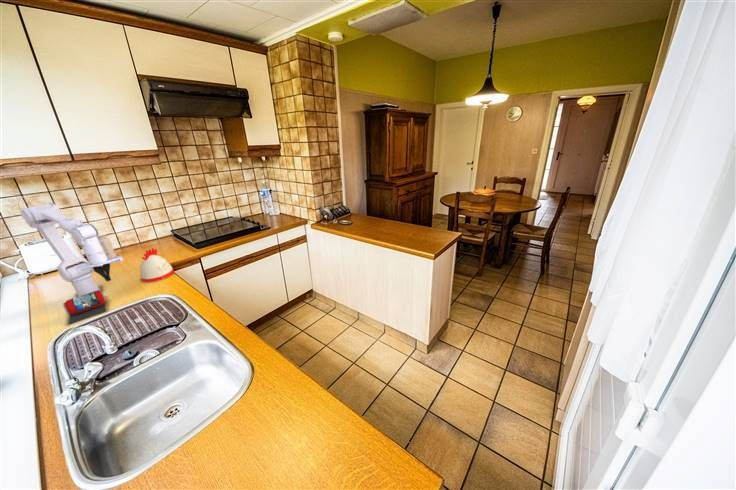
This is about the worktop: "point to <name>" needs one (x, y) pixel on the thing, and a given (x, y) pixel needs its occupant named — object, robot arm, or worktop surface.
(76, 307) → the beverage can
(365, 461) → the worktop surface
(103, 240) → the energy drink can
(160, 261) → the kitchen timer
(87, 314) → the rubber mat
